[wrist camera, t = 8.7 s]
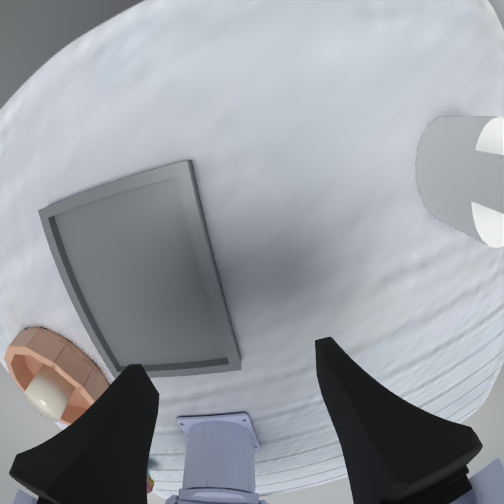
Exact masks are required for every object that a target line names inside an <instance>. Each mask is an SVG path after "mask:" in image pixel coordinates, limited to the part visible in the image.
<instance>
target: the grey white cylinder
mask: <svg viewBox="0 0 504 504" xmlns="http://www.w3.org/2000/svg"><path fill="white" fill-rule="evenodd" d="M415 167H416V181H417V186H418V191H419V194H420V197H421V199H422V201H423V203H424V206H425V207H426V208H427V210H428V211H429V212H430V214H431V215H432V216H434V217H435V218H436V219H438V220H439V221H441V222H443V223H445V224H447V225H449V226H451V227H453V228H455V229H457V230H459V231H461V232H463V233H465V234H467V235H469V236H471V237H473V238H474V239H476V240H478V241H480V242H482V243H483V244H485V245H487V246H489V247H493V248H500V247H503V246H504V118H503V117H495V116H445V117H442V118H438V119H436V120H435V121H433V122H432V123H431V124H430V125H429V126H428V127H427V129H426V130H425V132H424V133H423V135H422V137H421V140H420V143H419V145H418V148H417V155H416V162H415Z"/></svg>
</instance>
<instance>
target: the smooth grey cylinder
mask: <svg viewBox="0 0 504 504" xmlns="http://www.w3.org/2000/svg"><path fill="white" fill-rule="evenodd" d="M74 390H75V386H74V385H72V384H71V383H70V382H69V381H67V380H66V379H65V378H64V377H63V376H61V375H60V374H59V373H58V372H57V371H56V370H55V369H53V368H52V367H50V366H48V365H46V364H44V363H43V364H42V366H41V367H40V369H39V370H38V372H37V373H36V375H35V376H34V378H33V379H32V381H31V383H30V384H29V386H28V387H27V389H26V390H25V392H24V397H25V399H26V401H27V402H28V404H29V405H30V406H31V407H32V408H33V409H34V410H35V411H37V412H38V413H39V414H40V415H42V416H43V417H45V418H47V419H49V420H52V421H56V422H57V421H59V420H60V418H61V416H62V414H63V412H64V410H65V408H66V405H67V403H68V401H69V399H70V397H71V395H72V393H73V392H74Z"/></svg>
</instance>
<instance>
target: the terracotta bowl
mask: <svg viewBox="0 0 504 504" xmlns="http://www.w3.org/2000/svg"><path fill="white" fill-rule="evenodd" d="M4 359H5V362H6V365H7V367H8V370H9V373H10V375H11V377H12V379H13V380H14V381H15V383H16V384H17V385H18V387H19V388H20V389H21V390H22V392H23V393H24V392H25V390H26V389H27V387H28V386H29V384H30V383H31V381H32V379H33V378H34V376H35V375H36V373H37V372H38V370H39V369H40V367H41V366H42V364H43V363H44V364H46V365H48V366H50V367H52V368H53V369H55V370H56V371H57V372H58V373H59V374H60V375H61V376H63V377H64V378H65V379H66V380H67V381H69V382H70V383H71V384H72V385H74V386H75V390H74V392H73V393H72V395H71V397H70V399H69V401H68V403H67V405H66V408H65V410H64V412H63V414H62V416H61V418H60V420H59V421H60V422H62V423H64V424H66V425H68V426H69V425H71V424H72V423H73V422H74V421H75V420H77V419H78V418H79V417H80V416H81V415H82V414H83V413H84V412H85V411H86V410H87V409H88V408H89V407H90V406H91V405H92V404H93V403H94V402H95V401H96V400H97V399H98V398H99V397H100V396H101V395H102V394H103V393H104V392H105V390H106V389H107V388H108V387H109V386H110V385H109V383H108V381H107V379H106V378H105V376H104V374H103V373H102V372H101V370H100V369H99V368H98V367H97V365H96V364H95V363H94V362H93V361H92V360H91V359H90V358H89V357H88V356H87V355H86V354H85V353H84V352H83V351H81V350H80V349H79V348H78V347H77V346H75V345H74V344H73V343H71V342H70V341H68V340H67V339H65V338H64V337H62V336H60V335H59V334H57V333H55V332H53V331H50V330H48V329H45V328H41V327H29V328H27V329H25V330H24V331H21V332H20V333H19V334H18V336H17V337H16V338H15V339H14V340H13V341H12V343H11V344H10V345H9V346H8V349H7V351H6V354H5V357H4Z"/></svg>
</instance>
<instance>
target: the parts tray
mask: <svg viewBox="0 0 504 504" xmlns="http://www.w3.org/2000/svg"><path fill="white" fill-rule="evenodd" d="M38 211H39V215H40V218H41V222H42V225H43V228H44V232H45V235H46V238H47V241H48V244H49V247H50V250H51V252H52V255H53V258H54V261H55V263H56V266H57V268H58V271H59V273H60V276H61V278H62V281H63V283H64V285H65V288H66V290H67V292H68V294H69V297H70V299H71V301H72V303H73V305H74V307H75V309H76V311H77V313H78V315H79V317H80V319H81V321H82V323H83V325H84V327H85V329H86V331H87V333H88V335H89V336H90V338H91V340H92V342H93V344H94V345H95V347H96V349H97V350H98V352H99V354H100V356H101V357H102V359H103V361H104V362H105V364H106V365H107V367H108V369H109V370H110V372H111V373H112V375H113V376H114V378H117V377H118V376H119V375H120V374H121V372H122V371H123V370H124V369H125V368H126V367H127V366H128V365H129V364H142V366H143V368H144V370H145V371H146V373H147V375H148V377H149V378H152V377H172V376H187V375H199V374H209V373H218V372H226V371H234V370H241V356H240V353H239V349H238V346H237V342H236V339H235V335H234V332H233V328H232V325H231V321H230V317H229V314H228V310H227V306H226V303H225V299H224V295H223V291H222V288H221V284H220V280H219V276H218V272H217V268H216V264H215V260H214V256H213V252H212V248H211V244H210V240H209V236H208V232H207V228H206V224H205V219H204V215H203V211H202V206H201V202H200V198H199V193H198V189H197V184H196V179H195V175H194V170H193V165H192V161H191V160H188V161H184V162H180V163H176V164H172V165H168V166H164V167H160V168H157V169H153V170H150V171H146V172H143V173H139V174H136V175H133V176H130V177H126V178H123V179H120V180H117V181H114V182H111V183H108V184H105V185H102V186H99V187H96V188H93V189H91V190H88V191H85V192H82V193H80V194H77V195H74V196H72V197H69V198H67V199H64V200H62V201H59V202H57V203H54V204H52V205H50V206H47V207H45V208H43V209H40V210H38Z"/></svg>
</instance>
